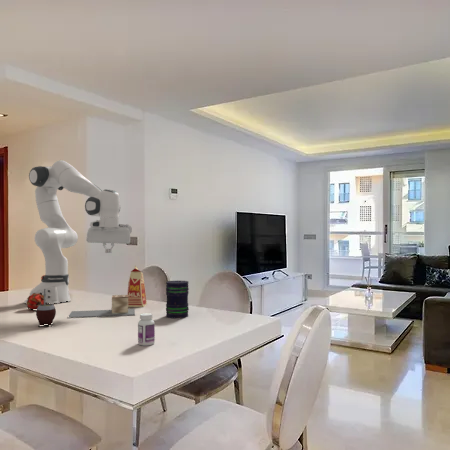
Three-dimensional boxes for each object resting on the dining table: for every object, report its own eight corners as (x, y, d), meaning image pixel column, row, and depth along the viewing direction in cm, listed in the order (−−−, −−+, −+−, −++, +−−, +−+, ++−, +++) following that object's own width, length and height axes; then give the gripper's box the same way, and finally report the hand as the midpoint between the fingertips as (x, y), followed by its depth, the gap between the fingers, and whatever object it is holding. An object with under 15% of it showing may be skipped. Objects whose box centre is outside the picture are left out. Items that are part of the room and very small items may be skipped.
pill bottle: (155, 341, 140) (155, 312, 141) (153, 345, 135) (153, 315, 135) (139, 341, 140) (139, 312, 140) (136, 346, 135) (136, 315, 135)
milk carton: (143, 307, 207) (143, 266, 207) (124, 307, 207) (124, 266, 207) (147, 304, 216) (147, 264, 216) (129, 303, 216) (129, 264, 216)
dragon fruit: (35, 310, 205) (40, 318, 195) (20, 302, 201) (24, 309, 191) (47, 296, 207) (52, 303, 197) (32, 287, 203) (36, 293, 193)
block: (128, 296, 188) (127, 313, 188) (128, 294, 195) (128, 310, 195) (111, 297, 187) (111, 313, 187) (112, 295, 194) (112, 311, 194)
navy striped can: (184, 318, 178) (184, 283, 178) (162, 317, 180) (162, 282, 180) (191, 314, 188) (191, 280, 188) (170, 313, 190) (170, 280, 190)
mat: (67, 318, 179) (67, 317, 179) (71, 312, 193) (71, 311, 193) (134, 315, 186) (134, 314, 186) (134, 309, 199) (134, 308, 199)
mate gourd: (48, 323, 170) (48, 285, 170) (60, 325, 166) (61, 286, 166) (31, 326, 163) (31, 287, 164) (44, 328, 159) (44, 289, 160)
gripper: (131, 224, 206) (130, 252, 206) (88, 222, 202) (86, 251, 202) (131, 224, 200) (130, 253, 200) (86, 222, 196) (85, 252, 196)
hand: (108, 252), depth 201 cm, fingers closed
